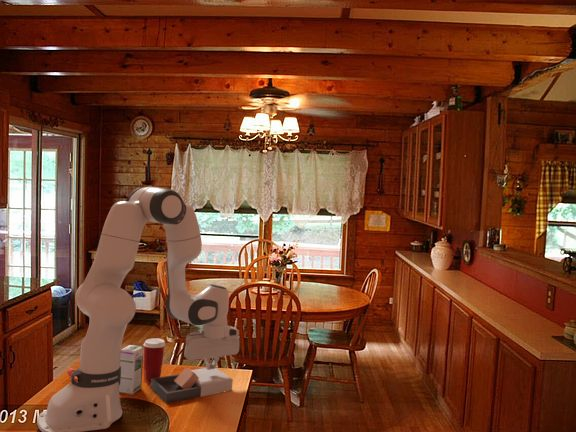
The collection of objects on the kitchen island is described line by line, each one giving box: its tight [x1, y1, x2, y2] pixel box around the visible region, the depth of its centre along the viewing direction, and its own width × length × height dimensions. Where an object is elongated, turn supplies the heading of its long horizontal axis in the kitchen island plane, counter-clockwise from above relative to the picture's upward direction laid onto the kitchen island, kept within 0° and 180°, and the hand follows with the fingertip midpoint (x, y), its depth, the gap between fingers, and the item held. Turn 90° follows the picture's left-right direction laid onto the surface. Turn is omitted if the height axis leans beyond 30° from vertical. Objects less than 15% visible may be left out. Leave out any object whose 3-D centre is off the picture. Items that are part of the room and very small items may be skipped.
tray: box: [150, 373, 201, 404], centre depth 158 cm, size 12×14×3 cm
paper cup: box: [142, 337, 166, 383], centre depth 168 cm, size 8×8×14 cm
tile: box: [174, 367, 199, 390], centre depth 160 cm, size 6×6×3 cm
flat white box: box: [190, 367, 234, 398], centre depth 166 cm, size 12×14×4 cm
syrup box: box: [119, 344, 144, 395], centre depth 157 cm, size 6×6×14 cm
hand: (210, 369), depth 166 cm, fingers closed
